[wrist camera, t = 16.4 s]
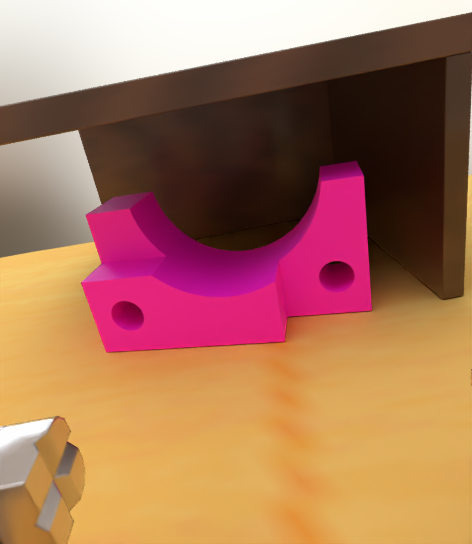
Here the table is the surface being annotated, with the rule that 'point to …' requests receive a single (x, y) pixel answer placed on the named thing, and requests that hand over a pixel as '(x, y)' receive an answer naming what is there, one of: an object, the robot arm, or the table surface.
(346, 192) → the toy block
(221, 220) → the shelf
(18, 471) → the robot arm
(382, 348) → the table surface
